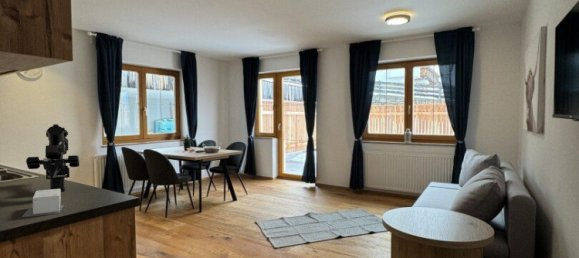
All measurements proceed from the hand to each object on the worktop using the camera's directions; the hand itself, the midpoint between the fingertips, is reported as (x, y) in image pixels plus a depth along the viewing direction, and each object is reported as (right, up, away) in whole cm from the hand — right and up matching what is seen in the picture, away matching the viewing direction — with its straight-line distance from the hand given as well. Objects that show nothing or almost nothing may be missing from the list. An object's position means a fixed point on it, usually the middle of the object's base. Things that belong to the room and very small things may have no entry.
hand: (51, 177), depth 137 cm
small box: (+4, -7, -8) cm, 11 cm away
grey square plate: (+8, -11, -15) cm, 20 cm away
